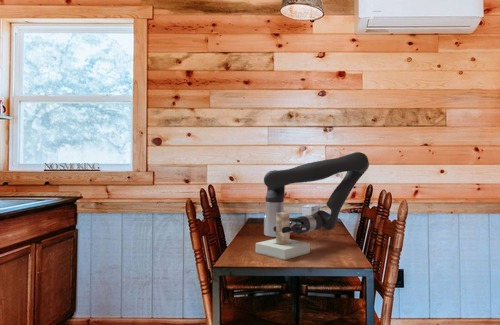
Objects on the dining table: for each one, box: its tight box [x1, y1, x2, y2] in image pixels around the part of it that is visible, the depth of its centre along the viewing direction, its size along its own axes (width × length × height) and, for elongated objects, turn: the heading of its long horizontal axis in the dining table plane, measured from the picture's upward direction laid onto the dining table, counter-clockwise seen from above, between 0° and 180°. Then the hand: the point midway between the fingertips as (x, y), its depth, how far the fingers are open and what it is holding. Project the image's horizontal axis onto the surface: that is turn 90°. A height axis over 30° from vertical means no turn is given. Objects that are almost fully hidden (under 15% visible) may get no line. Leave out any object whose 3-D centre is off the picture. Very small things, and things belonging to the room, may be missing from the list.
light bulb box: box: [301, 203, 321, 216], centre depth 230 cm, size 11×7×11 cm, turn 141°
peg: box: [275, 211, 291, 246], centre depth 156 cm, size 4×4×15 cm
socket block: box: [254, 238, 311, 261], centre depth 156 cm, size 16×16×4 cm
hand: (278, 229), depth 154 cm, fingers closed on peg, 4 cm apart
